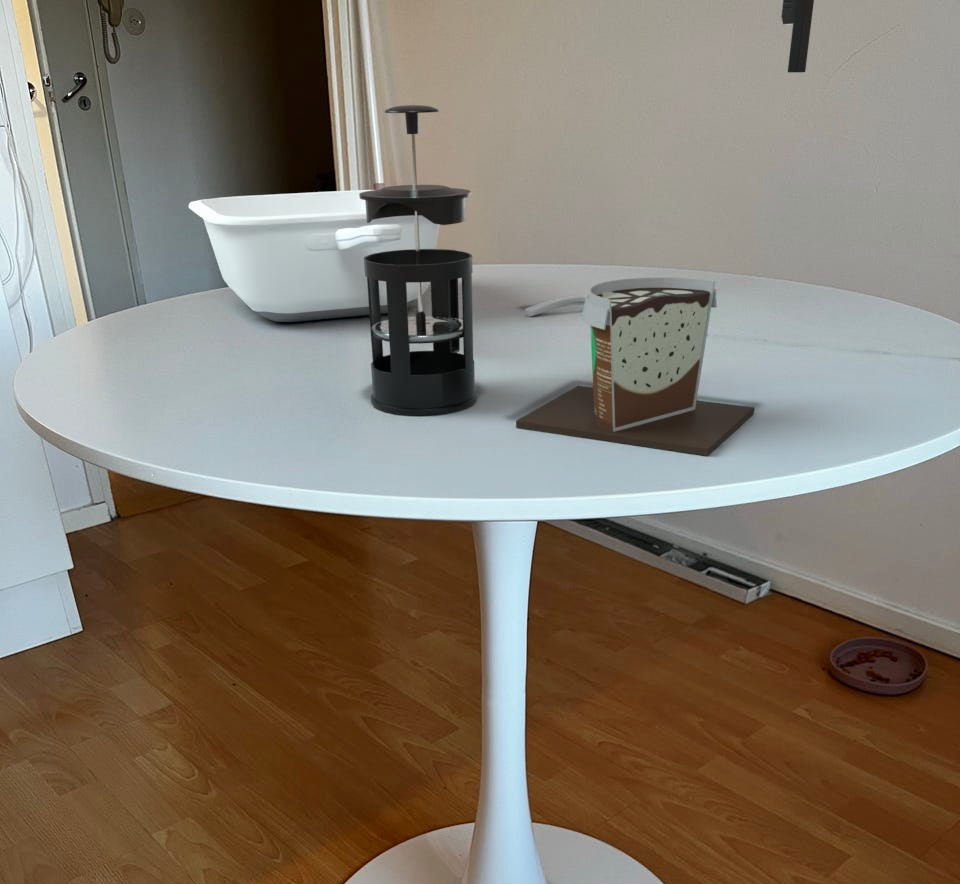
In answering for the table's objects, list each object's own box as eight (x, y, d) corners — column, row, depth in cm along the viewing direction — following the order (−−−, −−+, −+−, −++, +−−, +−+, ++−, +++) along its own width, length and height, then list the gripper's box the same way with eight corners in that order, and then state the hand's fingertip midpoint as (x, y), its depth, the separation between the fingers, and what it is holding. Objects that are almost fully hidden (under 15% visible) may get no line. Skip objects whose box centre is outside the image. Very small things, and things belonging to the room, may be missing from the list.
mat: (753, 414, 83) (754, 407, 83) (707, 456, 74) (708, 448, 74) (577, 391, 90) (577, 385, 90) (515, 427, 81) (515, 420, 81)
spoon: (620, 307, 123) (619, 290, 122) (532, 324, 119) (531, 307, 118) (607, 303, 125) (607, 286, 124) (522, 320, 122) (521, 303, 121)
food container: (653, 391, 88) (661, 270, 83) (707, 406, 83) (719, 280, 79) (546, 418, 81) (548, 289, 76) (599, 435, 77) (604, 300, 72)
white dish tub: (400, 282, 143) (395, 184, 136) (524, 345, 106) (525, 216, 100) (196, 298, 134) (181, 195, 128) (256, 374, 97) (238, 234, 91)
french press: (449, 422, 83) (439, 106, 72) (348, 412, 86) (323, 107, 75) (499, 386, 92) (497, 102, 81) (406, 378, 95) (392, 104, 84)
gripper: (742, -271, 71) (714, 74, 81) (1153, -343, 60) (1060, 66, 70) (771, -246, 77) (741, 73, 87) (1151, -307, 66) (1065, 66, 76)
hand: (883, 71), depth 79 cm, fingers open, 13 cm apart
